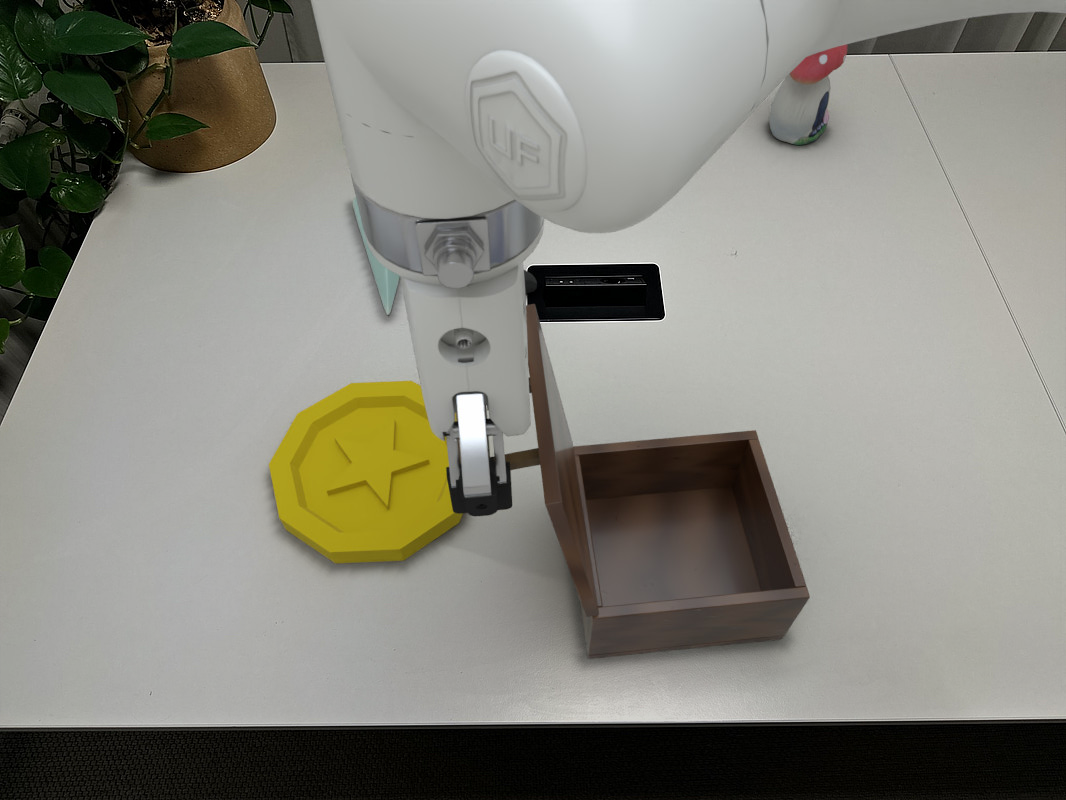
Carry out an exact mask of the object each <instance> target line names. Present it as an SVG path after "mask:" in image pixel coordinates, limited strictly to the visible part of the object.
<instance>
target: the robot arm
mask: <svg viewBox="0 0 1066 800" xmlns="http://www.w3.org/2000/svg"><path fill="white" fill-rule="evenodd" d="M310 3H311V8H312V13H313V16H314V22H315V25H316V30H317V34H318V39H319V43H320V47H321V52H322V56H323V60H324V64H325V69H326V73H327V78H328V82H329V87H330V90H331V95H332V99H333V104H334V108H335V113H336V116H337V117H336V118H337V121H338V125H339V130H340V134H341V138H342V142H343V147H344V152H345V155H346V161H347V163H348V164H347V165H348V169H349V171H350V177H351V182H352V186H353V191H354V195H355V196H356V199H357V203H358V208H359V212H360V216H361V221H362V225H363V229H364V234H365V238H366V241H367V245H368V247H369V249H370V251H371V252H372V254H373V255H374V257H375V258H376V259H377V260H378V261H379V262H380V263H381V264H382V265H383V266H385V267H386V268H387V269H388V270H390V271H392V272H394V273H395V274H397V275H399V276H400V278H399V279H400V283H401V288H402V295H403V300H404V306H405V312H406V319H407V322H408V328H409V333H410V339H411V344H412V349H413V350H412V351H413V354H414V361H415V364H416V369H417V376H418V379H419V385H420V386H421V390H422V395H423V399H424V404H425V408H426V412H427V416H428V421H429V424H430V427H431V430H432V432H433V433H434V434H435V435H436V436H437V437H438V438H439V439H441V440H443V441H445V437H446V439H447V450H448V460H449V467H446V475H447V481H448V487H449V492H450V498H451V503H452V509H453V512H454V513H458V514H461V513H463V514H468V516H472V517H486V516H492V515H494V514H496V513H497V512H498V511H503V510H509V509H512V507H513V492H512V490H513V489H512V472H511V471H512V470H511V469H510V462H506V461H505V454H506V453H505V442H504V435H505V436H506V437H514V436H515V437H516V436H522V435H524V434H526V433H527V431H528V430H529V429H530V427H531V425H532V419H531V417H532V416H531V401H530V400H531V399H530V393H529V377H530V376H529V368H528V345H527V317H526V305H527V298H526V296H527V295H526V294H527V293H525V279H524V270H525V267H524V262H525V261H526V260H527V259H528V258H529V257H530V256H531V255H532V254H533V252H534V251H535V249H536V248H537V247H538V245H539V243H540V241H541V239H542V237H543V234H544V229H545V220H546V221H548V222H550V223H551V224H553V225H556V226H559V227H562V228H565V229H568V230H569V229H570V230H571V231H575V232H578V233H585V234H610V233H616V232H619V231H622V230H623V231H624V230H626V229H629V228H632V227H634V226H636V225H638V224H640V223H642V222H643V221H645V220H648V218H651V217H652V216H653V215H654V214H655V213H656V212H658V211H659V210H660V209H662V208H663V207H664V206H665V205H667V204H668V203H669V202H670V201H671V200H672V199H674V198H675V197H676V195H677V194H678V193H679V192H680V191H681V190H682V189H683V188H684V187H685V186H686V185H687V184H688V182H690V180H692V179H693V177H694V176H695V175H696V174H697V173H698V172H699V171H700V170H701V169H702V168H703V167H704V166H705V164H706V163H707V162H709V160H710V159H711V158H712V157H713V156H714V155H715V154H716V153H717V152H718V151H719V149H720V148H722V147H723V145H725V144H726V142H727V141H728V140H729V139H730V138H731V137H732V136H733V135H734V133H735V132H736V131H737V130H738V129H739V128H740V127H741V126H742V125H743V123H745V122H746V121H747V119H748V118H749V117H750V116H751V115H752V114H753V113H754V112H755V111H756V109H758V107H759V106H760V105H761V104H762V103H763V102H764V101H765V100H766V99H767V97H768V96H770V94H772V93H773V92H774V90H775V89H777V87H778V86H780V85H781V84H782V82H783V81H784V79H785V78H786V76H787V75H789V74H790V73H791V72H792V71H793V70H794V69H795V68H796V67H797V66H798V65H799V64H800V63H801V62H802V61H803V60H804V59H805V58H806V57H808V56H810V55H813V54H816V53H818V52H822V51H825V50H828V49H831V48H834V47H838V46H842V45H846V44H847V45H849V44H853V43H858V42H862V41H866V40H871V39H874V38H878V37H882V36H887V35H891V34H897V33H899V32H900V33H901V32H905V31H909V30H914V29H915V30H916V29H920V28H925V27H929V26H934V25H938V24H942V23H949V22H954V21H955V22H956V21H959V20H965V19H972V18H979V17H986V16H996V15H1003V14H1020V13H1022V14H1023V13H1042V12H1043V13H1056V14H1066V0H310ZM780 83H781V84H780ZM484 405H486V409H487V412H488V417H489V418H488V417H487V419H485V407H484ZM455 413H458V421H455ZM487 436H489V437H492V443H493V456H494V458H495V461H494V458H493V456H490V458H489V457H488V444H487ZM458 439H459V440H460V453H461V463H460V453H459V442H458Z"/></svg>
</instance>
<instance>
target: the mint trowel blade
mask: <svg viewBox="0 0 1066 800" xmlns="http://www.w3.org/2000/svg"><path fill="white" fill-rule="evenodd" d="M352 207H353V211H354V212H353V213H354V216H355V219H356V222H357V225H358V229H359V232H360V235H361V239H362V243H363V245H364V248H365V252H366V255H367V259H368V261H369V265H370V268H371V271H372V274H373V277H374V281H375V285H376V287H377V290H378V294H379V297H380V300H381V303H382V307H383V309H384V311H385V314H386V316H390V314H391V312H392V309H393V304H394V301H395V297H396V293H397V289H398V286H399V281H400V279H401V278H400V276H399V275H397V274H395V273H394V272H392V271H390V270H388V269H387V268H386V267H385V266H383V265H382V264H381V263H380V262H379V261H378V260H377V259H376V258H375V257H374V255H373V254H372V252H371V251H370V249H369V247H368V245H367V241H366V238H365V234H364V229H363V225H362V221H361V216H360V212H359V208H358V203H357V199H356V195H355V197H354V198H353V200H352Z"/></svg>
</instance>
